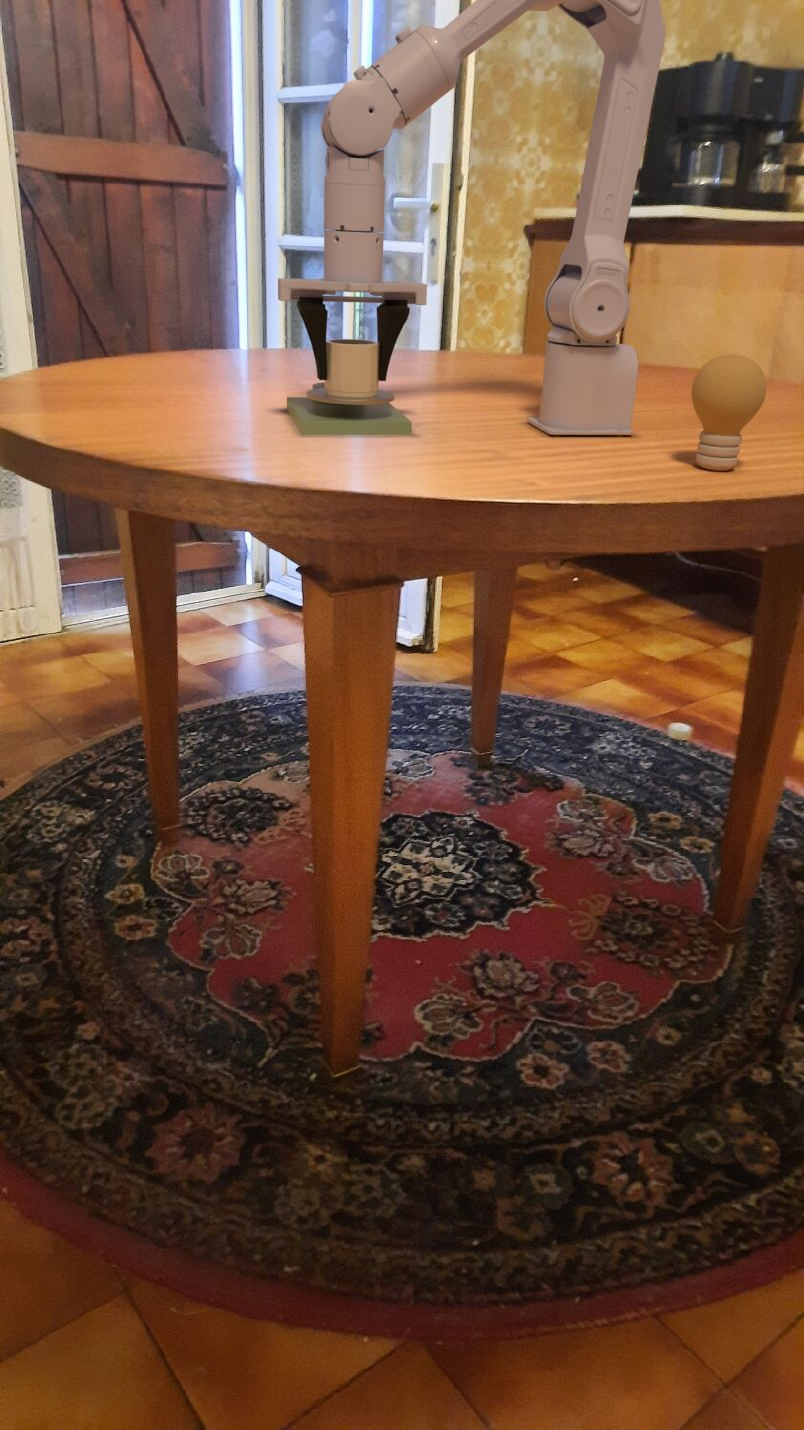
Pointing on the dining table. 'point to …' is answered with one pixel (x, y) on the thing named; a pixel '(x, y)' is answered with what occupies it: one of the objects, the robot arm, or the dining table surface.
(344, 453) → the dining table surface
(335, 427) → the scale
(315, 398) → the weighing pan
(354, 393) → the ramekin
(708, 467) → the light bulb
